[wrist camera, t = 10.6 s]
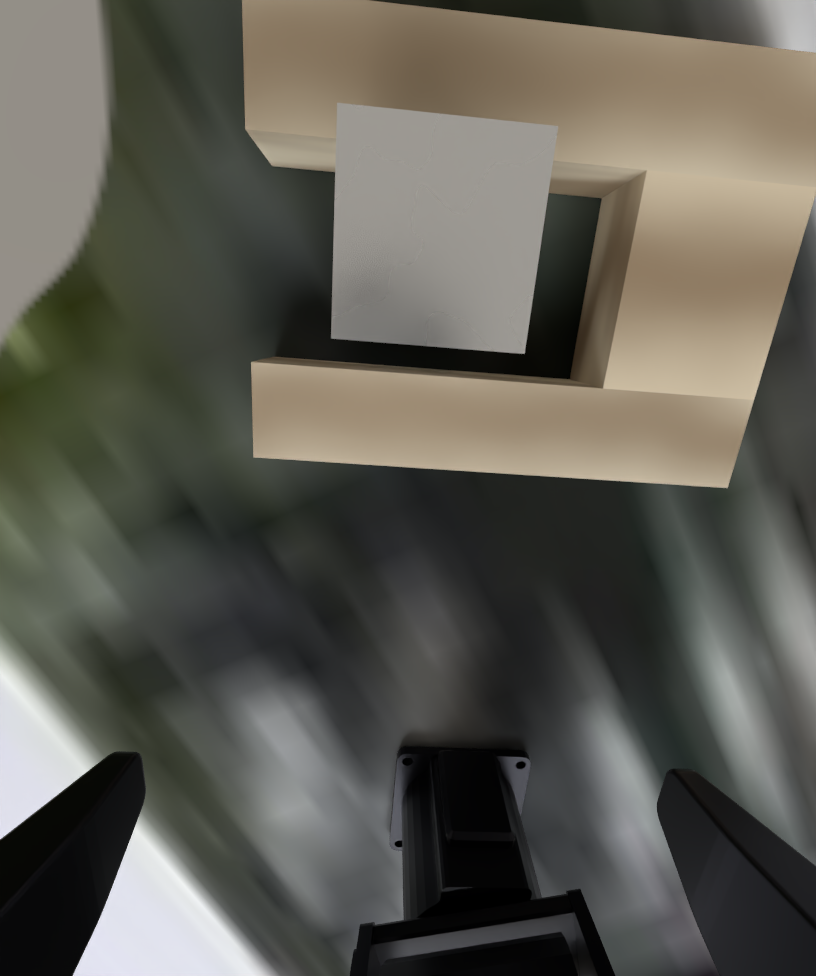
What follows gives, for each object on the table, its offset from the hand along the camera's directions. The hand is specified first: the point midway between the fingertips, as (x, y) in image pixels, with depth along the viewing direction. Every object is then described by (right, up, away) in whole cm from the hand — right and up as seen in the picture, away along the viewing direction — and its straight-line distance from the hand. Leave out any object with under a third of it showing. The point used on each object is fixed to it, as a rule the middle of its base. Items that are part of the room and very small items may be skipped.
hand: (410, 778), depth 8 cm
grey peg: (0, +12, +9) cm, 15 cm away
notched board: (+3, +12, +9) cm, 15 cm away
